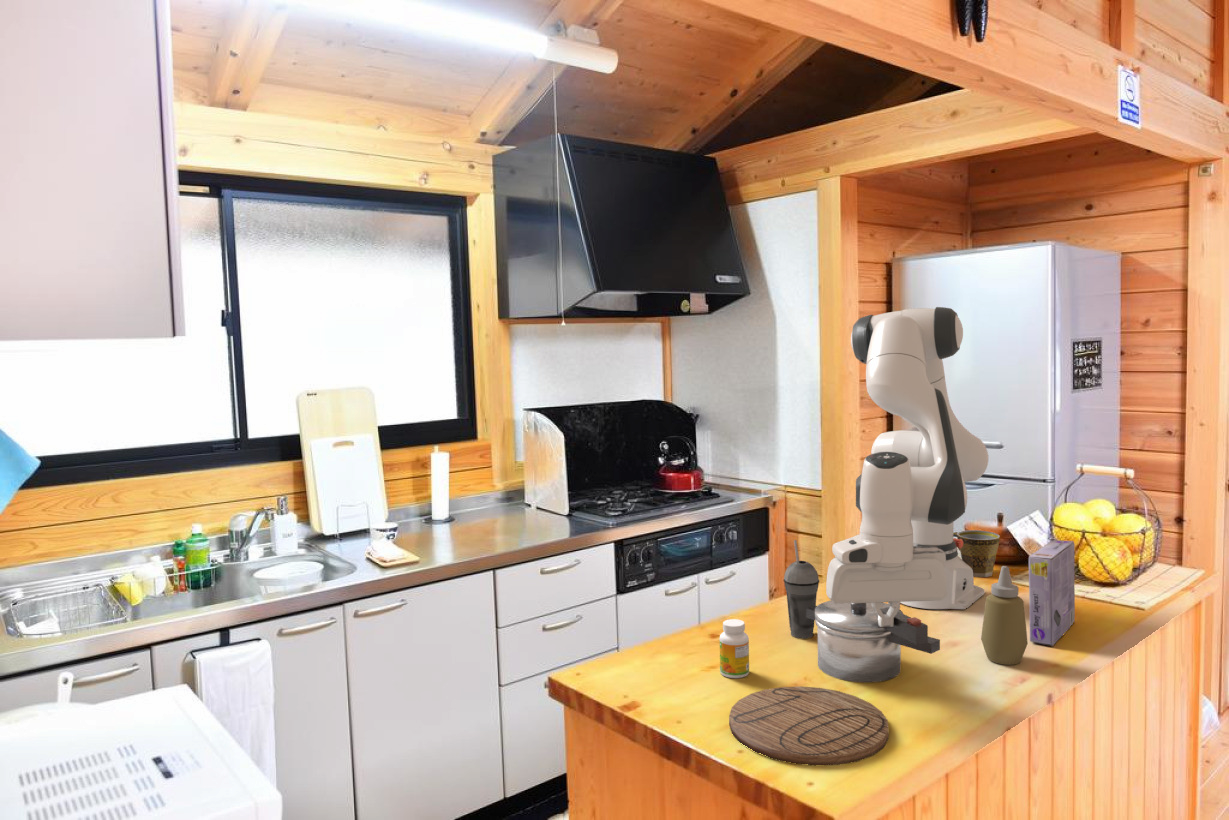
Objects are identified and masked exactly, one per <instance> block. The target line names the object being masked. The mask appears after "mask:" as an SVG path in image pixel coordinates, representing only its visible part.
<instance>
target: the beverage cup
mask: <svg viewBox="0 0 1229 820" xmlns="http://www.w3.org/2000/svg"><path fill="white" fill-rule="evenodd" d="M793 545H794V551H795V558H796V561H794V562H791V563H790V564H789V565H788V567H787V568H786V569H785V572H784V575H783V577H784V578H783V583H784V588H785V592H786V602H787V613H788V620H789V621H788V623H789V628H790V629H789V630H790V636H792V637H793V638H796V639H809V638H810V639H811V638H812V637H813V635H814V628H815V620H813V619H809V618H806V609H807V608H810V607H813V606H817V596H818V595H817V594H818V593H817V592H818V590H819V586H820V585H819V583H820V578H819V574H818V571H817V569H816V567H814V565H813V564H811V563H810V562H809V561H806V560H800V558H799V549H798V543H797V540H796V539H795V540H793Z"/></svg>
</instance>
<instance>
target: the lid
mask: <svg viewBox="0 0 1229 820" xmlns="http://www.w3.org/2000/svg"><path fill="white" fill-rule="evenodd" d="M816 606H817V607H816V608H815V619H816V620H817V621H818V622H819V623H820V624H822V625H824V626H826V627H829V628H832V629H836V630H840V631H846V632H854V633H880V632H887V631H890V632H892V633H894V634H896V635H897V636H899V637H901V638H903V639H905V640H907V641H909V642H911V643H913V644H915V645H918V644H923V643H928V637H929V633H928V632H929V631H928V630H929V629H928V628H929V626H928V625H927V624H926V623H923V622H922V619H920V618H917V617H910V616H909V615H906V614H904V612H903V611H902V610H901V609H899V610H898V612H897V614H896V615H895V617H894V625H893V627H880V626H879V625H878V615H877V613H876V611H875V610H874V608H873V606H872V603H850V604H835V603H833V602H832V601H831V600H828V601H824V602H821V603H819V604H818V605H816ZM889 608H890V605H889V604H888V602H883V608H880V609H881V611H882V613H883V614H887V612H888V610H889Z"/></svg>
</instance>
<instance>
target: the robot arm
mask: <svg viewBox="0 0 1229 820" xmlns="http://www.w3.org/2000/svg"><path fill="white" fill-rule="evenodd" d="M963 337H964V328H963V324H962V321H961V319H960V318H959V316H958V313H957V312H956V311H955V310H954V309H952V308H950V307H945V306H944V307H943V306H942V307H941V306H936V307H935V308H928V307H927V308H926V307H925V308H923V307H922V308H906V309H904V308H903V310H895V311H891V312H883V313H880V314H876V315H874V314H869V315H866V316H862V317H860V318H858V319H857V320H856V322H855V323H854V324H853V325H852V331H851V335H850V345H851V349H852V352H853V354H854V356H855V358H856V359H857V360H858V361H859V362H860V363H862V364H864V365H865V385H866V391H867V394H868V395H869V398H870V399H871V400H872V401H873V403H874V404H875V405H877V406H878V407H879V408H880V409H882V410H884V411H886V412H888V413H890V414H891V415H895V416H898V417H900V418H901V419H903V421H905V422H907V423H908V424H911V425H913V427H915V428H917V430H904V429H902V430H901V429H900V430H892V431H886V432H882V433H880V434H879V435H877V437H876V438H875V439H874V441H873V443H872V447H871V451H870V452H871V453H870V454H869V455H867V456H865V458H864V459H863V460H864V461H863V465H862V469H861V470H862V471H861V474H859V476H858V477H857V478H856V479H855V507H856V508H857V509H858V510H859V511H860V512H861V515H862V516H861V523H860V527H859V534H857V535H854V536H852V537H848V538H846V539H843V540H840V541H837V542H835V543H834V544H832V548H831V549H832V550H831V552H832V554H833V556H834V557H833V558H832V559H831V560H830V562H829V564H828V567H827V573H826V586H825V590H826V591H825V593H826V596H827V598H828V599H829V601H832V602H833V603H835V604H850V603H872V606H873V608H874V610H875V611H876V613H877V615H878V625H879V626H880V627H893V625H894V617H895V615H896V614H897V612H898V610H899V609H900V608H901V604H903V605H905V606H908V607H913V608H920V609H924V610H925V609H926V610H948V609H949V610H950V609H951V610H967V609H968V608H969V607H970V606H971V605H972V603H973V604H974V603H975V602H977V600H979V599H980V598H981V597H983V596H984V595H985V593H986V592H985V589H984V588H982V587H980V586H979V585H975V584H974V580H975V579H974V578H975V577H973V570H972V568H971V567H970V566H968V565H967V564H966V563H965V562H964V561H963V560H962V558H960V556H959V553H958V552H959V551H958V548H962V547H963V541H962V539H957V537H956V538H954V536H953V533H954V522H955V521H956V520H958V519H960V518H961V517H962V516H963V515H964V514H965V512H966V508H967V504H968V490H967V485H966V482H973V481H978V480H979V479H980V478H981V477H982V476H983V475H984V474H985V472H986V470H987V468H988V466H989V453H988V452H989V451H988V450H987V446H986V445H985V443H984V442H983V440H981V438H979V437H978V436H976V435H974V434H973V433H972V432H970V431H969V430H968V429H966V428H965V427H964V425H963V424H962V423H961V422H960V420H958V418H957V417H956V414H955V413H954V411H953V409H952V407H951V404H950V401H949V394H948V389H947V384H946V383H947V382H946V376H945V369H944V362H943V360H944V359H948V358H950V357H953V356H954V355H955V354H957V352H958V351H960V348H961V344H962V342H963ZM953 538H954V539H953ZM883 603H887V604H889V605H890V608H889V610H888V612H887V614H883V613H882V611H881V609H880V608H883ZM966 608H967V609H966ZM900 610H901V609H900Z"/></svg>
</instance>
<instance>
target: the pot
mask: <svg viewBox="0 0 1229 820" xmlns="http://www.w3.org/2000/svg"><path fill="white" fill-rule="evenodd" d="M817 606H818V605H816V606H813V607H810V608H807V609H806V618H809V619H813V620H815V621H814V624H815V625H816V626H817V667H818V668H819V670H820V671H821V670H822V671H821V672H823V673H824V674H826V675H828V676H830V677H833V678H835V679H839V680H842V681H847V682H854V683H879V682H885V681H890V680H891V679H894V678H896V677H898V676H899V675H900V673H901V672H902V671H901V670H902V668H901V662H902V661H901V659H902V658H901V656H902V655H901V649H902V648H901V646H903V647H906V648H910V649H913V650H917V651H920V652H923V653H928V654H930V655H931V654H935V653H936V652H938V651H940V650H941V639H939V638H935V637H931V636H928V643H923V644H918V645H915V644H913V643H911V642H909V641H907V640H905V639H903V638H901V637H899V636H897V635H896V634H894V633H892V632H890V631H887V632H880V633H854V632H846V631H840V630H836V629H832V628H829V627H826V626H824V625H822V624H820V623H819V622H818V621H817V620H816V619H815V608H816V607H817Z"/></svg>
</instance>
